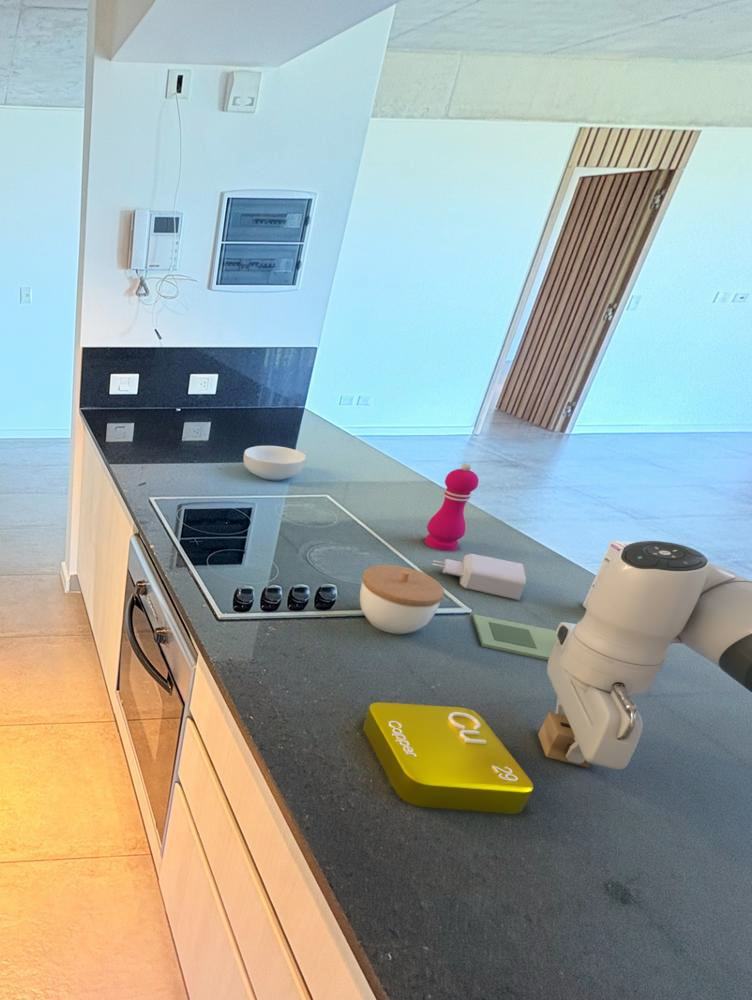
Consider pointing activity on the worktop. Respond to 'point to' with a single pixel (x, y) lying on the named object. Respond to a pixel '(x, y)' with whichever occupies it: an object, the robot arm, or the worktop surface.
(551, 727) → the block
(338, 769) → the worktop surface
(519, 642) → the word board
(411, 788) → the element tile
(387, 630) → the lidded bowl
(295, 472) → the cereal bowl
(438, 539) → the pepper mill
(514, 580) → the charger
